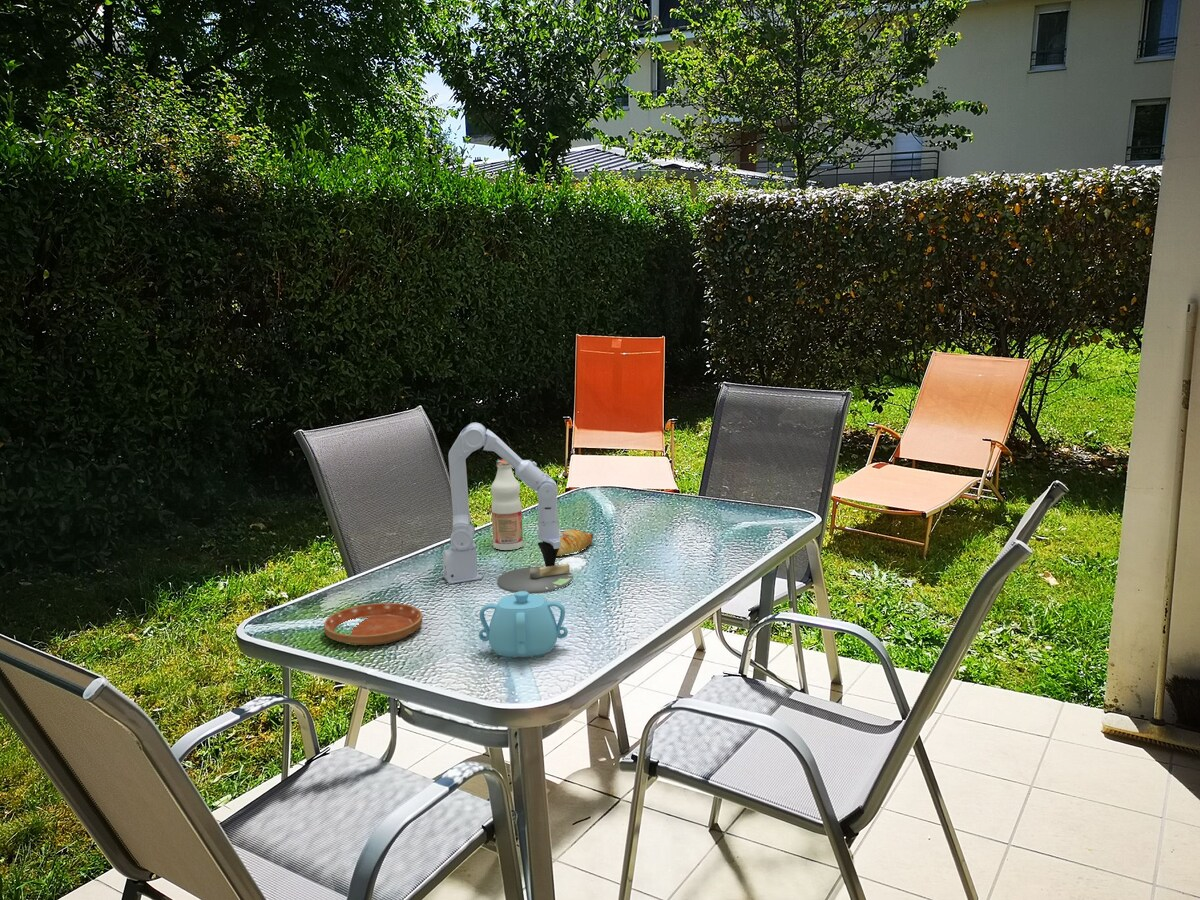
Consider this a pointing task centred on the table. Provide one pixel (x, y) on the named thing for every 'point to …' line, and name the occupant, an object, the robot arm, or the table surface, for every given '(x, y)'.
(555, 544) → the robot arm
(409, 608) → the saucer
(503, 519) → the fruit juice
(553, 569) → the pointer
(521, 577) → the dial
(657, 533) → the table surface
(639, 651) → the table surface
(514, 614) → the decorative pot
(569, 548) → the croissant
